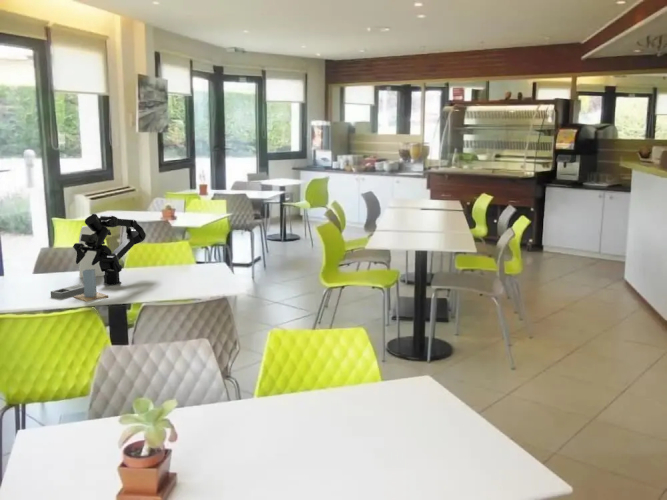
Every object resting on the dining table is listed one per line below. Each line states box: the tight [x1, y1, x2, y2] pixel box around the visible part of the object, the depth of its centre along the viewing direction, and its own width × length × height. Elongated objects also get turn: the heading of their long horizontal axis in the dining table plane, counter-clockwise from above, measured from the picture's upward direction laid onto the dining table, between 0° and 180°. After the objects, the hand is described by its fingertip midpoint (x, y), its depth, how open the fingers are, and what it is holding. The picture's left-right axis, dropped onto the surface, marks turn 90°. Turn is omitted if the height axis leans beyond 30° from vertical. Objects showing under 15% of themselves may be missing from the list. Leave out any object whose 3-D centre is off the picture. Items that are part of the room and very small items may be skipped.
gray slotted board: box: [50, 282, 84, 300], centre depth 298 cm, size 18×7×4 cm, turn 151°
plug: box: [82, 269, 97, 297], centre depth 290 cm, size 4×4×12 cm
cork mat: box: [72, 292, 109, 303], centre depth 292 cm, size 11×11×1 cm
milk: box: [78, 225, 105, 279], centre depth 337 cm, size 12×12×26 cm
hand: (84, 264), depth 300 cm, fingers open, 9 cm apart
